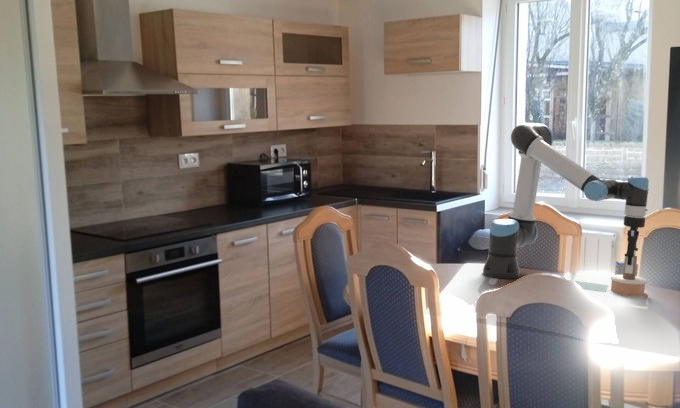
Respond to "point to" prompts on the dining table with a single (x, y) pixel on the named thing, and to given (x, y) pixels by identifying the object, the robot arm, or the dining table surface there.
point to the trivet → (593, 286)
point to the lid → (629, 276)
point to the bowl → (627, 288)
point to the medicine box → (622, 268)
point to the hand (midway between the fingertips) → (629, 270)
